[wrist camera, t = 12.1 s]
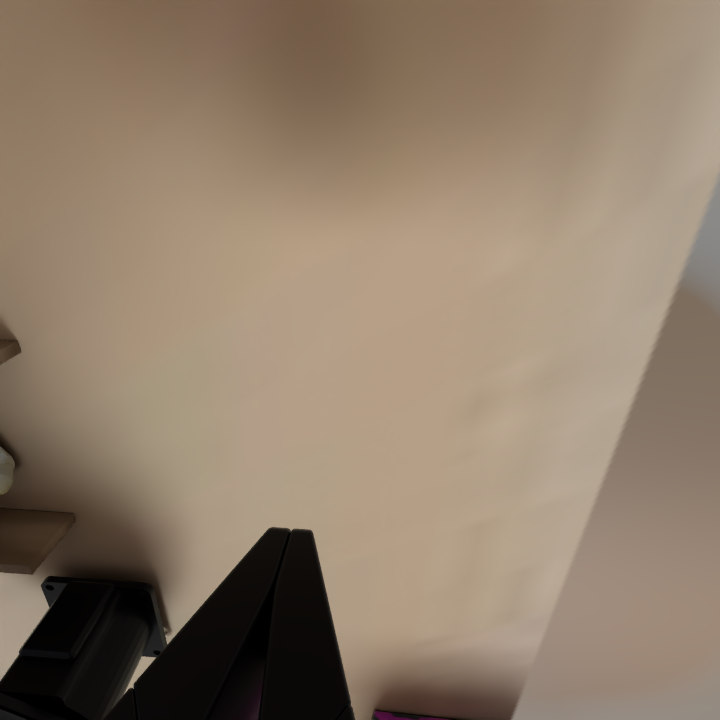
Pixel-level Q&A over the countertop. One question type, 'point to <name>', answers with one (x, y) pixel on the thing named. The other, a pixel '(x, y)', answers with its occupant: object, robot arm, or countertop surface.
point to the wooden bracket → (27, 520)
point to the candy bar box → (399, 716)
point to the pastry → (6, 471)
